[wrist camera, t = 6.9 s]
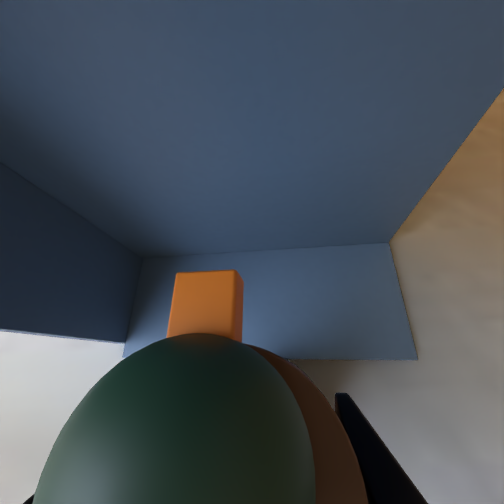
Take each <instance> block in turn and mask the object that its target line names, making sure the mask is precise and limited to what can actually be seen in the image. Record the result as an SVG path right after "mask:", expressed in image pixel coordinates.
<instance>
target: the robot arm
mask: <svg viewBox="0 0 504 504" xmlns="http://www.w3.org/2000/svg"><path fill="white" fill-rule="evenodd" d="M335 413H336V414H337V416H338V418H339V420H340V422H341V424H342V425H343V427H344V429H345V431H346V433H347V435H348V437H349V440H350V442H351V445H352V447H353V449H354V452H355V454H356V457H357V460H358V463H359V467H360V470H361V473H362V477H363V480H364V484H365V489H366V494H367V500H368V504H428V503H427V502H426V500H425V499H424V497H423V496H422V495H421V493H420V492H419V491H418V489H417V488H416V486H415V485H414V484H413V482H412V481H411V480H410V478H409V477H408V475H407V474H406V473H405V471H404V470H403V469H402V467H401V466H400V464H399V463H398V462H397V460H396V459H395V458H394V456H393V455H392V453H391V452H390V451H389V449H388V448H387V447H386V445H385V444H384V442H383V441H382V440H381V438H380V437H379V436H378V434H377V433H376V431H375V430H374V429H373V427H372V426H371V425H370V423H369V422H368V420H367V419H366V418H365V416H364V415H363V414H362V412H361V411H360V409H359V408H358V407H357V405H356V404H355V403H354V401H353V400H352V398H351V397H350V396H349V395H348V394H347V393H335ZM34 495H35V494H33V495H32V496H31V497H30V498H29V499H28V500H26V501H25V502H24V503H23V504H32V503H33V499H34Z"/></svg>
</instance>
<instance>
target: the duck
mask: <svg viewBox="0 0 504 504" xmlns="http://www.w3.org/2000/svg"><path fill="white" fill-rule="evenodd" d="M243 289H244V282H243V279H242V278H241V276H240V275H239V273H238V272H237V270H234V269H231V270H211V271H192V272H178V273H177V274H176V278H175V285H174V291H173V298H172V304H171V311H170V317H169V324H168V330H167V337H166V338H165V339H162V340H159V341H157V342H154V343H152V344H150V345H148V346H146V347H144V348H142V349H140V350H138V351H136V352H134V353H132V354H131V355H130V356H128V357H127V358H125V359H124V360H122V361H121V362H120V363H118V364H117V365H116V366H115V367H114V368H113V369H111V370H110V371H109V372H108V373H107V374H106V375H104V376H103V377H102V378H101V379H100V380H99V381H98V382H97V383H96V384H95V385H94V386H93V387H92V388H91V390H90V391H89V392H88V393H87V394H86V396H85V397H84V398H83V400H82V401H81V402H80V403H79V405H78V406H77V407H76V409H75V410H74V411H73V413H72V414H71V416H70V417H69V419H68V421H67V422H66V424H65V425H64V427H63V428H62V430H61V432H60V434H59V436H58V438H57V440H56V442H55V443H54V445H53V448H52V450H51V452H50V455H49V457H48V459H47V462H46V464H45V466H44V469H43V471H42V474H41V477H40V480H39V483H38V486H37V489H36V492H35V495H34V499H33V503H32V504H368V500H367V494H366V489H365V484H364V480H363V477H362V473H361V470H360V467H359V463H358V460H357V457H356V454H355V452H354V449H353V447H352V445H351V442H350V440H349V437H348V435H347V433H346V431H345V429H344V427H343V425H342V424H341V422H340V420H339V418H338V416H337V414H336V413H335V411H334V410H333V408H332V407H331V405H330V404H329V402H328V401H327V400H326V398H325V397H324V395H323V394H322V393H321V392H320V391H319V389H318V388H317V387H316V386H315V385H314V384H313V382H312V381H311V380H310V379H309V378H308V376H307V375H306V374H305V373H304V372H303V371H302V370H301V369H300V368H299V367H297V366H296V365H295V364H293V363H291V362H289V361H288V360H286V359H284V358H282V357H280V356H278V355H276V354H274V353H272V352H270V351H268V350H265V349H262V348H260V347H257V346H254V345H250V344H245V343H242V324H243Z"/></svg>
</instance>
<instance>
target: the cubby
mask: <svg viewBox="0 0 504 504" xmlns="http://www.w3.org/2000/svg"><path fill="white" fill-rule="evenodd" d="M503 88H504V0H0V331H5V332H14V333H23V334H33V335H42V336H51V337H61V338H70V339H80V340H89V341H98V342H108V343H125V347H124V352H123V358H127V357H128V356H130V355H131V354H132V353H134V352H136V351H138V350H140V349H142V348H144V347H146V346H148V345H150V344H152V343H154V342H157V341H159V340H162V339H165V338H166V337H167V330H168V324H169V317H170V311H171V304H172V298H173V291H174V285H175V278H176V274H177V273H178V272H192V271H211V270H231V269H234V270H237V272H238V273H239V275H240V276H241V278H242V279H243V282H244V289H243V324H242V343H245V344H250V345H254V346H257V347H260V348H262V349H265V350H268V351H270V352H272V353H274V354H276V355H278V356H280V357H282V358H284V359H331V360H418V358H417V354H416V350H415V346H414V342H413V338H412V334H411V330H410V326H409V322H408V318H407V314H406V310H405V306H404V302H403V298H402V294H401V290H400V286H399V282H398V278H397V273H396V269H395V265H394V261H393V257H392V253H391V249H390V245H389V243H388V242H389V241H390V240H391V238H392V237H393V236H394V234H395V233H396V232H397V230H398V229H399V228H400V226H401V225H402V224H403V222H404V221H405V220H406V218H407V217H408V216H409V214H410V213H411V212H412V210H413V209H414V208H415V206H416V205H417V204H418V202H419V201H420V200H421V198H422V197H423V196H424V194H425V193H426V191H427V190H428V189H429V187H430V186H431V185H432V183H433V182H434V181H435V179H436V178H437V177H438V175H439V174H440V173H441V171H442V170H443V169H444V167H445V166H446V165H447V163H448V162H449V161H450V159H451V158H452V157H453V155H454V154H455V153H456V151H457V150H458V149H459V147H460V146H461V145H462V143H463V142H464V141H465V139H466V138H467V137H468V135H469V134H470V132H471V131H472V130H473V128H474V127H475V126H476V124H477V123H478V122H479V120H480V119H481V118H482V116H483V115H484V114H485V112H486V111H487V110H488V108H489V107H490V106H491V104H492V103H493V102H494V100H495V99H496V98H497V96H498V95H499V94H500V92H501V91H502V90H503Z"/></svg>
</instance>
